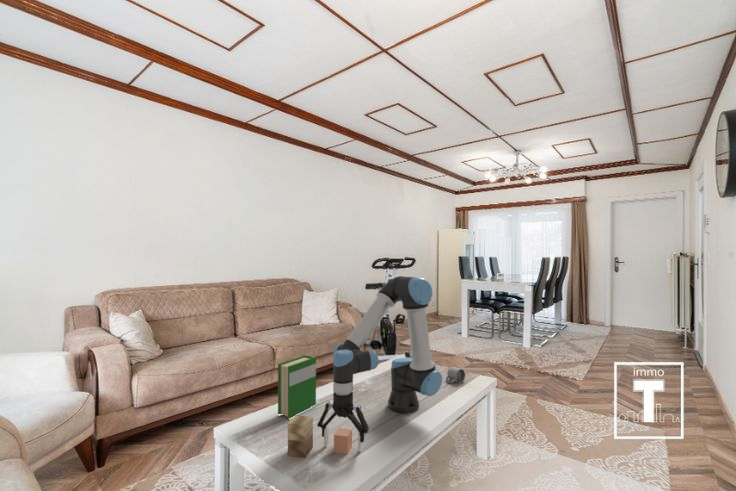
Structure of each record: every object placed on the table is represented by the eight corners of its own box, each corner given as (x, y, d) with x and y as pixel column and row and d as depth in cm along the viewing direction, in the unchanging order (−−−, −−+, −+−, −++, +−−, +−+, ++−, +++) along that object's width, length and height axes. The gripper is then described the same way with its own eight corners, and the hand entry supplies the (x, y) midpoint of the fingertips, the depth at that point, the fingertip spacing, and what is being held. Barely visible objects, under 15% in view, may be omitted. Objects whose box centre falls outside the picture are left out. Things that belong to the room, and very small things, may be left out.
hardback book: (289, 420, 162) (289, 366, 163) (277, 416, 166) (278, 363, 167) (315, 406, 177) (315, 357, 177) (304, 403, 181) (304, 355, 182)
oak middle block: (312, 432, 139) (312, 417, 139) (305, 442, 132) (305, 425, 132) (296, 430, 141) (296, 415, 141) (287, 439, 134) (287, 423, 134)
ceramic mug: (454, 377, 218) (454, 364, 218) (465, 381, 211) (465, 368, 211) (442, 381, 212) (442, 368, 212) (453, 385, 205) (453, 371, 205)
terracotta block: (352, 446, 140) (352, 429, 140) (347, 454, 135) (347, 436, 135) (338, 444, 142) (338, 427, 142) (333, 452, 136) (333, 434, 136)
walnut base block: (312, 448, 139) (312, 432, 139) (305, 458, 132) (305, 441, 132) (296, 446, 141) (296, 430, 141) (287, 455, 134) (287, 439, 134)
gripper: (376, 391, 139) (376, 447, 139) (316, 385, 146) (316, 438, 145) (372, 398, 132) (371, 457, 131) (309, 392, 138) (308, 448, 138)
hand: (342, 447), depth 138 cm, fingers open, 13 cm apart
